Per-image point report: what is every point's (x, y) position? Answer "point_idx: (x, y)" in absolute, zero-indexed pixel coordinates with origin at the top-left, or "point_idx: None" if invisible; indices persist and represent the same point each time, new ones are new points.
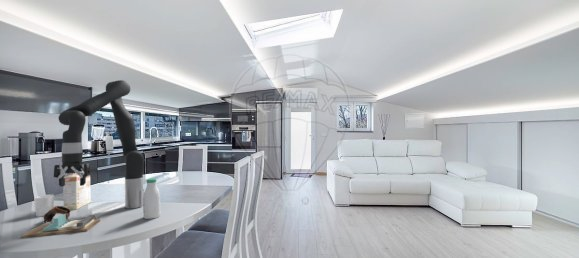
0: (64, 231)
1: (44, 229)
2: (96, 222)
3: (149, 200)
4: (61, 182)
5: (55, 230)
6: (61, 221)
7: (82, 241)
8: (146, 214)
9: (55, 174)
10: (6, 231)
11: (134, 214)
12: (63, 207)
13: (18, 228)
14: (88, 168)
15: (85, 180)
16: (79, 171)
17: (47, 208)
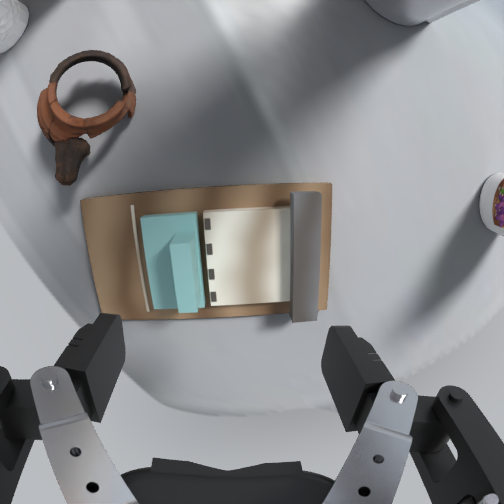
0: (245, 314)
1: (160, 306)
2: (330, 223)
3: None
4: (112, 387)
5: None
6: (197, 274)
7: None
8: (497, 232)
9: (15, 454)
10: (3, 224)
11: (442, 132)
12: (78, 59)
13: (15, 198)
14: (494, 481)
15: (381, 363)
16: (344, 470)
17: (4, 30)
